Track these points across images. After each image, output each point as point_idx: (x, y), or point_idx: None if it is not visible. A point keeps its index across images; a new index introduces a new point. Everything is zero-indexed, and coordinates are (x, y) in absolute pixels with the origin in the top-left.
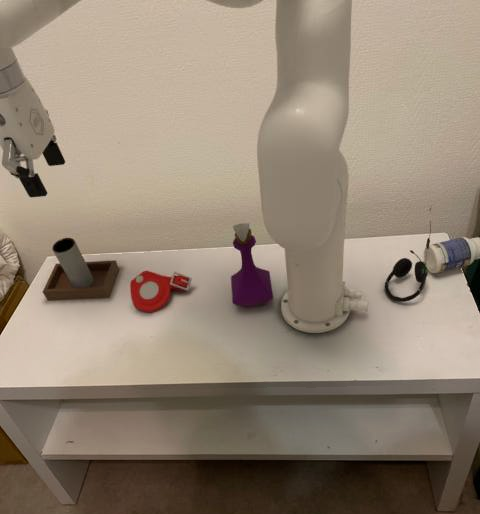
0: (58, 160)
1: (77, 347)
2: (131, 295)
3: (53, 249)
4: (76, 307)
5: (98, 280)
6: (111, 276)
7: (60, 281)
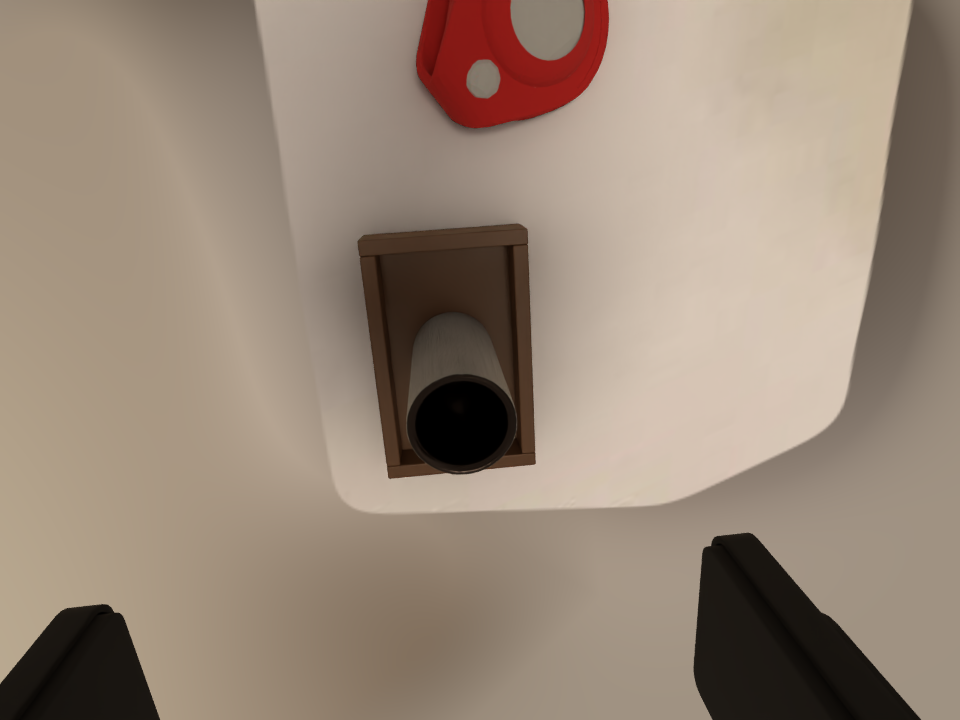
0: (100, 687)
1: (736, 261)
2: (551, 107)
3: (494, 460)
4: (561, 333)
5: (440, 294)
6: (443, 233)
7: None
